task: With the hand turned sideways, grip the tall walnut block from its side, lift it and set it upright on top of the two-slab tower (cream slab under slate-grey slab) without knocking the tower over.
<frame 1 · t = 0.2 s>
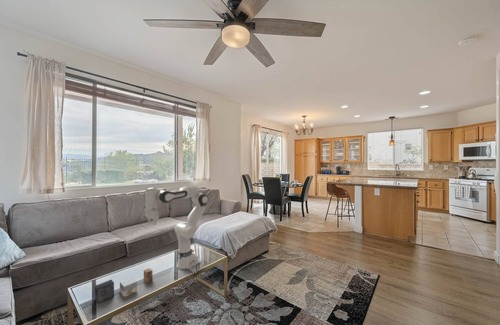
hand: (152, 223, 173), 47 cm above the table, tool pointing down, fingers open, 8 cm apart
small box: (104, 298, 150), on the table
tower base: (128, 292, 158), on the table, touching tower top
tower top: (128, 286, 158), point 4 cm above the table, touching tower base
walnut block: (148, 280, 172), on the table
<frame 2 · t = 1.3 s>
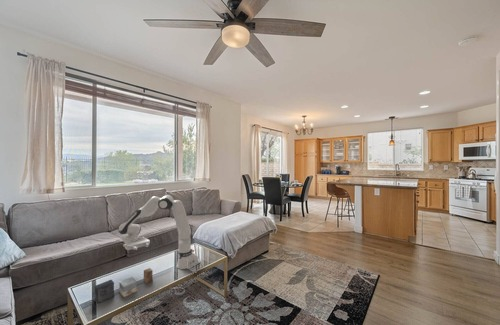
hand: (142, 247, 177), 25 cm above the table, tool horizontal, fingers open, 8 cm apart
tower base: (128, 292, 158), on the table
tower top: (128, 286, 158), point 4 cm above the table
everything else where it was.
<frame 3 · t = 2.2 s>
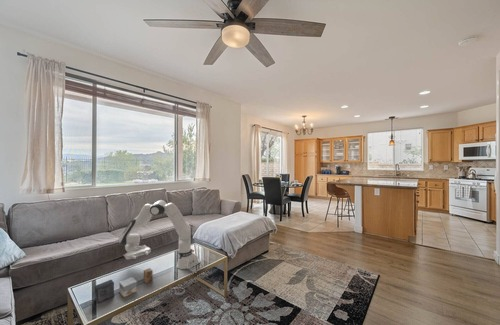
hand: (141, 256, 179), 17 cm above the table, tool horizontal, fingers open, 8 cm apart
tower base: (128, 292, 158), on the table, touching tower top
tower top: (128, 286, 158), point 4 cm above the table, touching tower base
everything else where it was.
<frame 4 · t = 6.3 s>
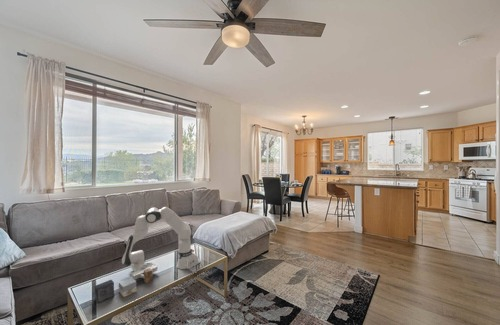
hand: (148, 275, 171), 5 cm above the table, tool horizontal, fingers closed on walnut block, 5 cm apart
walnut block: (148, 280, 172), on the table, touching gripper
everything else where it was.
when the fingers open (14 cm above the table, at t = 12.0 s): walnut block drops 1 cm, point 8 cm above the table.
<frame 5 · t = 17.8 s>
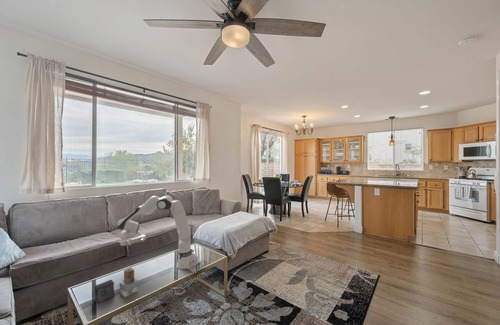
hand: (136, 242, 177), 30 cm above the table, tool horizontal, fingers open, 8 cm apart
walnut block: (129, 281, 158), point 8 cm above the table
at the end: walnut block 0.1 cm off-centre on the tower top, point 4.0 cm above the tower top's base; tower top 0.2 cm off-centre on the tower base, point 4.0 cm above the tower base's base; walnut block tilted 1° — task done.
